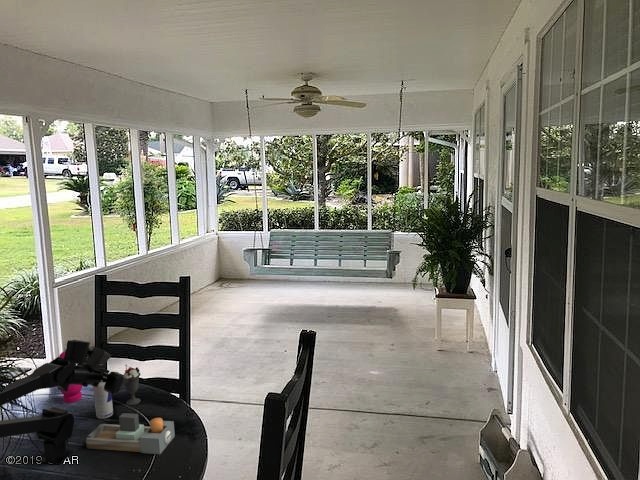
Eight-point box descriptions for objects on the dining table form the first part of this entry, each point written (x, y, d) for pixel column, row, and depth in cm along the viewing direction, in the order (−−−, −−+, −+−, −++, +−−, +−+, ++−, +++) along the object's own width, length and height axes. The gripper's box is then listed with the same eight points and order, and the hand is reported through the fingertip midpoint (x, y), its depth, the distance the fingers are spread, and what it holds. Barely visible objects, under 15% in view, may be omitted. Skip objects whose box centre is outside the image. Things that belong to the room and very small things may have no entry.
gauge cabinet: (161, 454, 155) (160, 438, 154) (141, 453, 156) (139, 437, 155) (176, 436, 164) (175, 421, 163) (156, 435, 165) (155, 420, 165)
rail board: (142, 452, 156) (141, 441, 156) (87, 448, 159) (85, 437, 159) (156, 435, 165) (155, 425, 164) (103, 432, 168) (102, 422, 167)
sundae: (122, 407, 184) (118, 367, 181) (124, 399, 190) (120, 360, 188) (142, 404, 186) (138, 364, 183) (143, 396, 192) (139, 357, 189)
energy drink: (116, 411, 181) (112, 379, 179) (108, 419, 176) (104, 386, 174) (101, 411, 182) (97, 378, 180) (93, 419, 177) (89, 385, 175)
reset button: (160, 436, 157) (159, 424, 157) (149, 435, 158) (147, 423, 157) (165, 430, 161) (164, 418, 160) (154, 429, 161) (153, 417, 161)
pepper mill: (57, 402, 190) (50, 350, 186) (71, 393, 196) (65, 342, 193) (73, 404, 187) (67, 351, 184) (87, 395, 194) (81, 344, 191)
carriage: (134, 443, 158) (132, 421, 157) (116, 441, 159) (114, 419, 158) (144, 432, 164) (142, 411, 162) (126, 431, 165) (124, 410, 163)
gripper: (109, 358, 157) (146, 361, 171) (69, 340, 166) (107, 344, 180) (96, 395, 156) (134, 394, 170) (57, 375, 164) (96, 376, 178)
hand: (118, 376), depth 174 cm, fingers open, 9 cm apart
